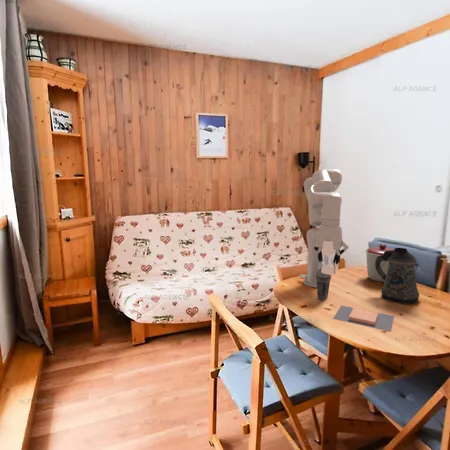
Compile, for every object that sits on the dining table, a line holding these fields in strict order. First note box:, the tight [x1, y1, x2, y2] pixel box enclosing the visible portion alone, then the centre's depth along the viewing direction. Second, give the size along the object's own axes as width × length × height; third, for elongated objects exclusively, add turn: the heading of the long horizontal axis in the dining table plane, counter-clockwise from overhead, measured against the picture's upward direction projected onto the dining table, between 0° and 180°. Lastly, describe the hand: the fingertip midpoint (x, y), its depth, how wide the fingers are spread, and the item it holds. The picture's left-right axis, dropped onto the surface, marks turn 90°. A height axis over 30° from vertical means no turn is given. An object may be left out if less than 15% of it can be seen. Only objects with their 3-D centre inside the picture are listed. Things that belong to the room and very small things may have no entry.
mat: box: [332, 305, 395, 333], centre depth 137 cm, size 22×16×1 cm
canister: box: [364, 243, 395, 283], centre depth 185 cm, size 18×18×21 cm
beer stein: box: [375, 247, 420, 306], centre depth 157 cm, size 16×19×25 cm
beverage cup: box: [316, 268, 332, 301], centre depth 157 cm, size 7×7×20 cm
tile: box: [349, 307, 379, 325], centre depth 136 cm, size 10×2×10 cm
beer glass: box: [321, 240, 337, 276], centre depth 142 cm, size 7×7×15 cm
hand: (328, 262), depth 142 cm, fingers closed on beer glass, 6 cm apart
